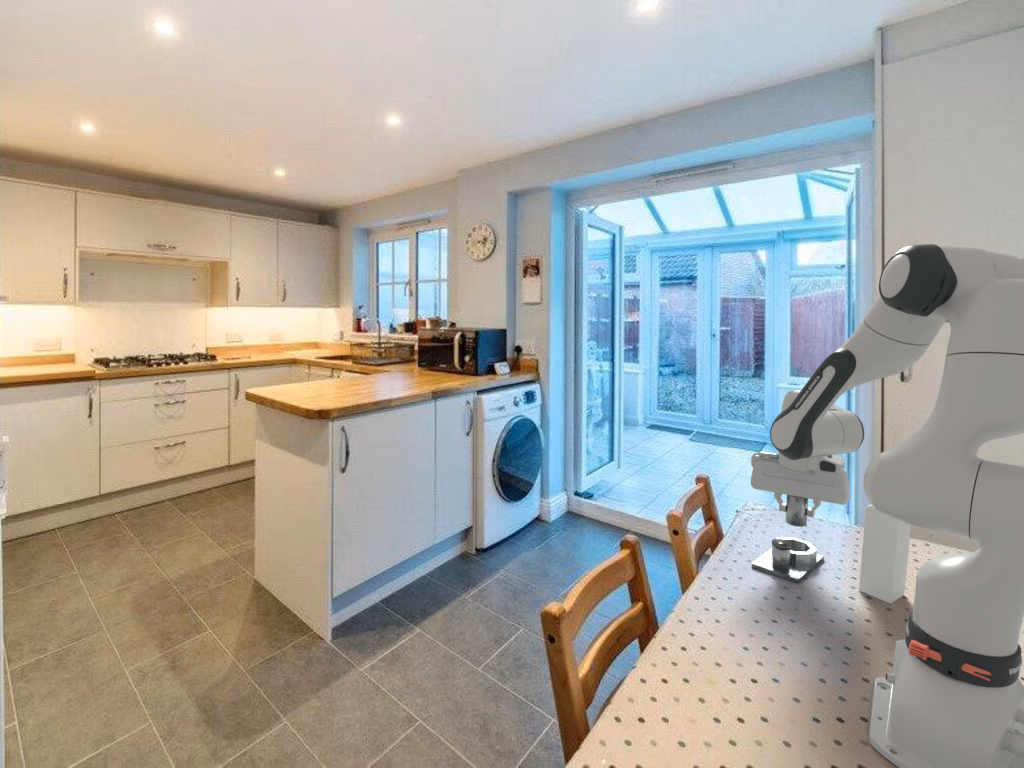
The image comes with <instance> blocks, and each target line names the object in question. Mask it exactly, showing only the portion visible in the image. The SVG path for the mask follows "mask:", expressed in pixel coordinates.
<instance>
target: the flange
mask: <svg viewBox="0 0 1024 768" xmlns="http://www.w3.org/2000/svg"><path fill="white" fill-rule="evenodd" d="M823 561H825V555H823V554H820V553H818V548H817V547H816V546H814V545H813V543H811V542H809V541H806V540H803V539H799V538H797V537H793V536H792V537H789V536H787V537H786V536H784V537H783V536H779V537H776V538H773V539H771V548H770V549H769V550H767V551H766V552H764V553H763V554H761V555H760V556H759V557H758V558H756V559H755V560H753V562H751V567H752V568H753V569H757V570H758V571H759V570H760V571H761V572H763V573H767V574H770V575H772V576H775V577H778V578H781V579H784V580H786V581H789V582H792V583H794V584H797V585H798V584H800V583H801V581H802V580H804V579H805V578H807V576H808V575H809V574H810V573H811V572H813V571H814V570H815V568H817V567H818V566H819V565H820V564H821V563H823Z"/></svg>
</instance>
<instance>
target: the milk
mask: <svg viewBox="0 0 1024 768" xmlns="http://www.w3.org/2000/svg"><path fill="white" fill-rule="evenodd" d="M865 506H866V507H865V514H864V515H865V517H864V525H863V526H864V527H863V535H862V537H863V538H862V539H863V540H862V548H861V562H860V574H859V583H858V584H859V585H858V586H859V588H858V591H859V592H861V593H863V594H867V595H868V596H871V597H874V598H875V599H878V600H880V601H883V602H886V603H887V604H890V605H892V604H893V603H895V602H896V601H898V600H899V599H901V598H903V596H905V589H906V579H907V568H908V562H909V561H908V559H909V550H910V549H909V548H910V542H911V541H910V540H911V538H910V537H911V529H912V528H911V527H912V525H911V524H908V523H906V522H903V521H900V520H898V519H895V518H893V517H891V516H888V515H886V514H884V513H881V512H879V511H877V510H876V509H875V508H874V507H873V506H872V505H871V504H869V505H865Z"/></svg>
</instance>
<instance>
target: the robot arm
mask: <svg viewBox="0 0 1024 768" xmlns="http://www.w3.org/2000/svg"><path fill="white" fill-rule="evenodd" d="M878 292H879V295H878V296H877V298H876V299H875V300H874V302H873V303H872V304H871V306H870V308H869V309H868V311H866V314H865V315H864V317H863V319H862V321H861V322H860V324H859V325H858V326H857V328H856V329H855V330H854V331H853V332H852V334H851V335H850V336H849V337H848V338H847V340H846V341H845V342H844V343H843V344H841V345H840V346H839V347H838V348H837V349H836V350H834V351H833V352H832V353H830V354H829V355H828V356H827V357H826V358H825V359H824V360H823V361H822V362H821V363H820V365H819V366H818V368H817V369H816V370H815V371H814V372H813V374H812V375H811V377H810V378H808V381H807V382H806V383H805V384H804V386H803V387H802V388H801V389H798V390H790V391H788V392H786V393H785V395H784V396H783V397H784V398H783V400H782V404H781V410H780V413H779V414H778V415H777V416H776V417H775V419H774V420H773V422H772V424H771V427H770V429H769V438H770V442H771V444H772V445H773V447H774V448H775V449H776V451H777V452H778V453H772V452H764V451H758V452H756V453H753V455H752V456H751V457H750V458H751V459H750V464H751V465H750V466H751V467H752V468H753V469H752V471H751V478H750V486H751V487H752V489H754V490H758V491H759V490H760V491H764V492H770V493H774V499H775V500H776V503H777V504H778V511H779V512H785V513H786V503H787V502H784V501H783V499H782V496H783V495H786V496H787V495H791V496H797V497H802V498H808V500H812V503H813V504H814V505H812V506H811V507H810V506H808V509H807V518H808V517H809V518H815V515H816V514H815V513H816V510H817V509H818V508H819V507H820V505H821V503H822V502H825V503H831V504H836V505H841V506H844V505H847V504H848V503H849V502H850V501H849V500H850V491H851V490H850V480H849V474H848V473H847V471H846V470H845V466H846V461H845V459H844V458H843V457H840V456H839V455H843V454H849V453H850V454H851V453H855V452H856V451H858V450H859V449H860V448H861V446H862V444H863V443H864V439H865V428H864V424H863V422H862V420H861V419H860V418H859V416H858V415H857V414H855V413H854V412H852V411H851V410H846V409H845V408H844V409H843V408H841V407H839V406H838V405H836V404H835V403H836V402H837V400H838V399H839V398H841V396H842V395H844V394H845V393H847V392H848V391H849V390H852V389H853V388H856V387H858V386H861V385H863V384H866V383H871V382H873V381H876V380H879V379H885V378H888V377H891V376H894V375H897V374H901V373H902V372H905V371H907V370H908V369H909V368H911V367H912V366H913V365H914V364H915V363H917V361H918V360H920V359H921V357H923V355H924V354H925V353H926V352H927V350H928V348H929V347H930V345H931V344H932V342H934V340H935V338H936V337H937V335H938V333H939V331H940V330H941V329H942V327H943V325H944V324H945V323H946V322H948V323H949V325H950V333H949V339H948V344H947V348H946V355H945V361H944V366H943V373H942V377H941V382H940V387H939V390H938V394H937V398H936V401H935V405H934V407H933V410H932V411H931V413H930V415H929V416H928V419H927V420H926V421H925V422H924V423H923V425H922V426H921V428H919V429H918V430H917V431H916V432H915V433H914V434H913V435H912V436H911V437H909V438H908V439H907V440H905V441H903V442H902V443H900V444H898V445H896V446H893V447H892V448H888V449H886V450H884V451H882V452H880V453H879V454H878V455H876V456H875V457H874V458H873V459H872V460H871V461H870V462H869V463H868V466H867V467H866V469H865V471H864V472H865V473H864V474H863V475H864V476H863V489H864V493H865V496H866V498H867V500H868V502H869V503H870V505H872V506H873V507H874V508H875V509H876V510H877V511H879V512H881V513H884V514H886V515H888V516H891V517H893V518H895V519H898V520H900V521H903V522H906V523H908V524H911V526H913V527H914V526H915V527H920V528H923V529H926V530H931V531H934V532H939V533H942V534H947V535H952V536H955V537H958V538H963V539H967V540H970V541H973V542H974V543H977V544H978V546H979V549H977V550H975V551H972V552H968V553H967V552H966V553H963V554H962V553H959V554H948V555H943V556H937V557H934V558H931V559H928V560H927V561H926V562H923V564H921V566H920V567H919V569H918V570H917V573H916V579H915V581H916V582H915V590H914V599H913V601H914V602H913V609H912V611H911V612H909V616H908V620H907V622H906V627H905V630H906V634H905V638H903V639H899V640H896V641H895V649H894V658H893V667H892V673H891V672H887V673H885V677H883V676H879V677H878V676H877V677H876V678H874V682H873V688H872V689H873V690H872V698H871V699H872V700H871V709H870V718H869V719H870V720H869V731H868V743H869V744H870V745H871V747H873V748H874V749H875V750H876V751H877V752H878V753H879V754H880V755H882V756H883V757H884V758H885V759H886V760H888V761H890V762H891V763H892V764H893V765H895V766H896V767H898V768H1024V684H1023V682H1022V681H1021V680H1020V678H1019V676H1020V672H1021V669H1022V668H1021V667H1022V665H1023V664H1022V663H1023V657H1022V651H1023V650H1022V647H1021V645H1020V644H1019V641H1020V640H1019V639H1020V634H1021V628H1022V623H1023V619H1024V466H1023V465H1018V464H1017V465H1016V464H1009V463H1003V462H998V461H992V460H991V461H989V460H984V459H982V458H979V457H978V456H977V455H978V451H979V449H980V448H981V446H983V445H984V444H986V443H988V442H990V441H993V440H994V441H995V440H997V439H998V440H999V439H1004V438H1008V437H1012V436H1017V435H1022V434H1024V256H1021V257H1019V256H1014V255H1010V254H1005V253H1000V252H994V251H989V250H986V249H982V248H976V247H966V246H943V245H942V246H939V245H937V244H933V243H932V244H930V243H929V244H928V243H927V244H914V245H909V246H905V247H903V248H901V249H899V250H898V251H897V252H895V254H893V255H892V256H891V257H890V258H889V259H888V261H887V262H886V263H885V265H884V266H883V268H882V270H881V274H880V276H879V283H878ZM837 455H838V456H837Z"/></svg>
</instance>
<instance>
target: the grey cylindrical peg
mask: <svg viewBox="0 0 1024 768" xmlns="http://www.w3.org/2000/svg"><path fill="white" fill-rule="evenodd" d="M785 503H786V512H785V523H786V524H788V525H790V526H792V527H797V528H798V527H802V528H803V527H806V526H807V525H808V516H807V509H808V507H809V499H808V498H802V497H797V496H791V495H786V502H785Z"/></svg>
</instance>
